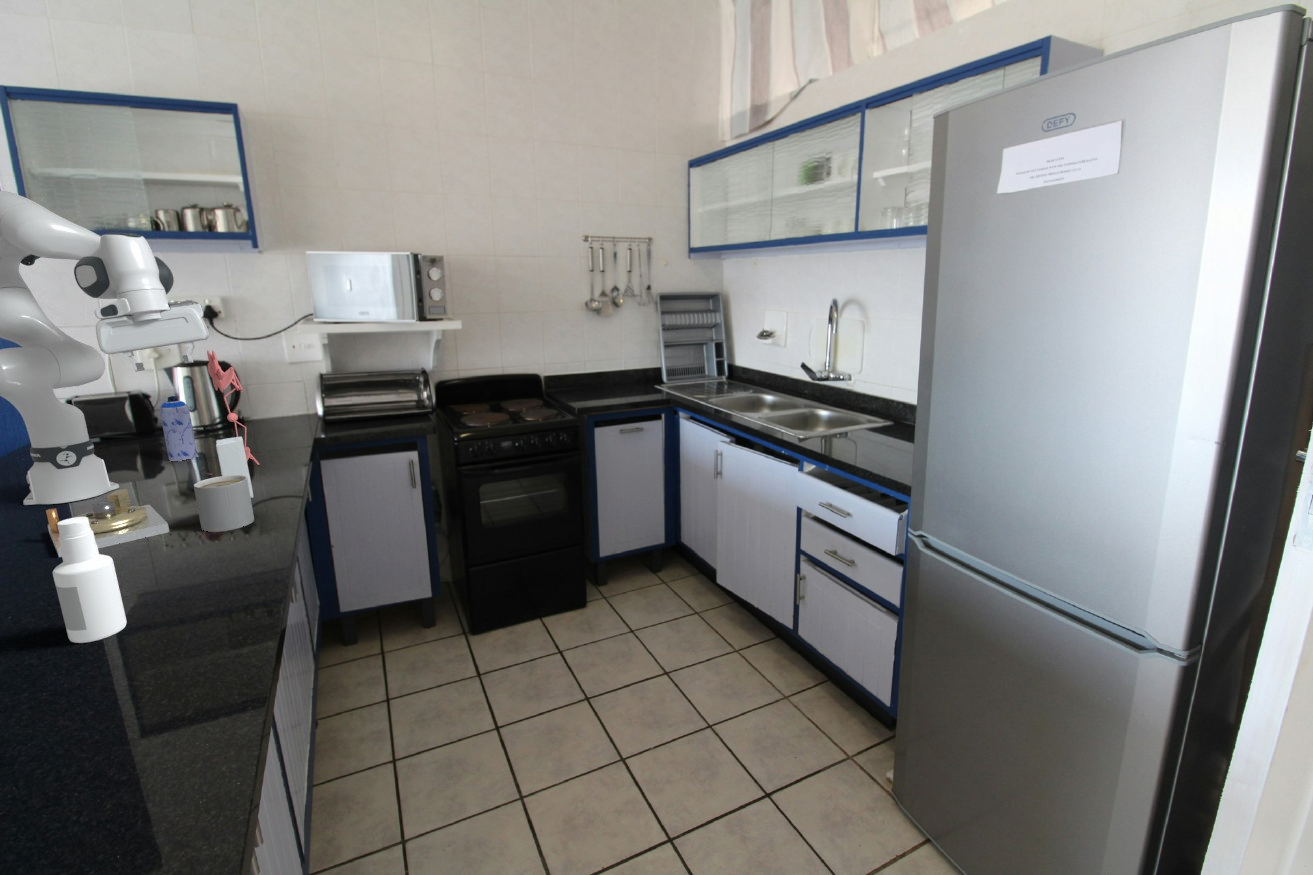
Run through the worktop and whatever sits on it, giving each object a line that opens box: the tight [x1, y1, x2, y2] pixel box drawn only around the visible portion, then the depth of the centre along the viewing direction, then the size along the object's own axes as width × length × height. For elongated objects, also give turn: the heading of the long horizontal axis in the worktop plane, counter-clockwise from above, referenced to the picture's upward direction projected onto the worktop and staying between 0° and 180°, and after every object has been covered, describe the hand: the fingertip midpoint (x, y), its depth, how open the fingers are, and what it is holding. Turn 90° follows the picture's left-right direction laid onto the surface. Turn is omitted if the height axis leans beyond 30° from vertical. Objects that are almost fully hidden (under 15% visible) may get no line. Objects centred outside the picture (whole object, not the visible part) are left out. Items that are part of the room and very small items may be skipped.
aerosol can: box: [159, 395, 199, 462], centre depth 205 cm, size 8×8×20 cm
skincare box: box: [215, 436, 254, 499], centre depth 165 cm, size 8×6×15 cm
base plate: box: [45, 504, 170, 558], centre depth 141 cm, size 20×18×7 cm
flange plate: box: [72, 488, 147, 533], centre depth 142 cm, size 16×14×5 cm
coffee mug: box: [193, 475, 255, 533], centre depth 146 cm, size 13×10×10 cm
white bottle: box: [52, 516, 128, 644], centre depth 97 cm, size 7×7×18 cm
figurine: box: [201, 350, 260, 475], centre depth 192 cm, size 15×26×35 cm, turn 42°
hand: (164, 366), depth 148 cm, fingers open, 8 cm apart
